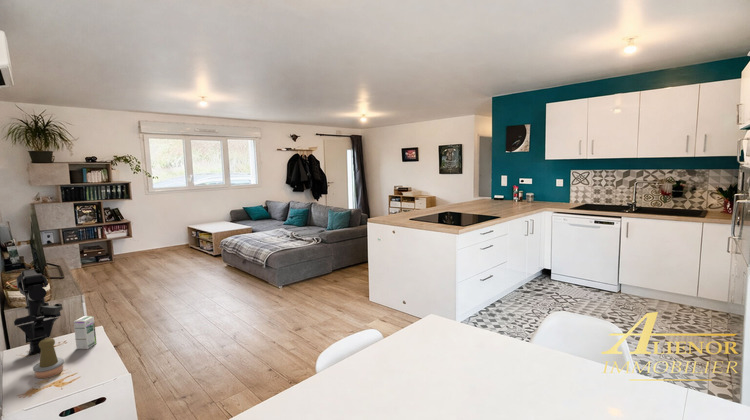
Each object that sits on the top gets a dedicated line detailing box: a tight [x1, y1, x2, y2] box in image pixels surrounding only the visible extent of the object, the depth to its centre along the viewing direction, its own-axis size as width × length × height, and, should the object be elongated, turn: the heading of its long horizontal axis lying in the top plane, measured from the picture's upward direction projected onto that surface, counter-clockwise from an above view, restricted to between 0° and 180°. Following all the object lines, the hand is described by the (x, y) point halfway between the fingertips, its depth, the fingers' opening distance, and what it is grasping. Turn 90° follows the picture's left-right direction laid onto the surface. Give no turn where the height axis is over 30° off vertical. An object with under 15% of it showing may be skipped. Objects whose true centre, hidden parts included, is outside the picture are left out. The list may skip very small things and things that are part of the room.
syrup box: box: [73, 315, 97, 350], centre depth 180 cm, size 6×6×14 cm
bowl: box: [34, 363, 64, 379], centre depth 157 cm, size 9×9×3 cm
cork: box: [39, 337, 58, 368], centre depth 157 cm, size 6×6×11 cm
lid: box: [32, 357, 65, 373], centre depth 157 cm, size 10×10×1 cm
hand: (40, 337), depth 163 cm, fingers open, 9 cm apart
